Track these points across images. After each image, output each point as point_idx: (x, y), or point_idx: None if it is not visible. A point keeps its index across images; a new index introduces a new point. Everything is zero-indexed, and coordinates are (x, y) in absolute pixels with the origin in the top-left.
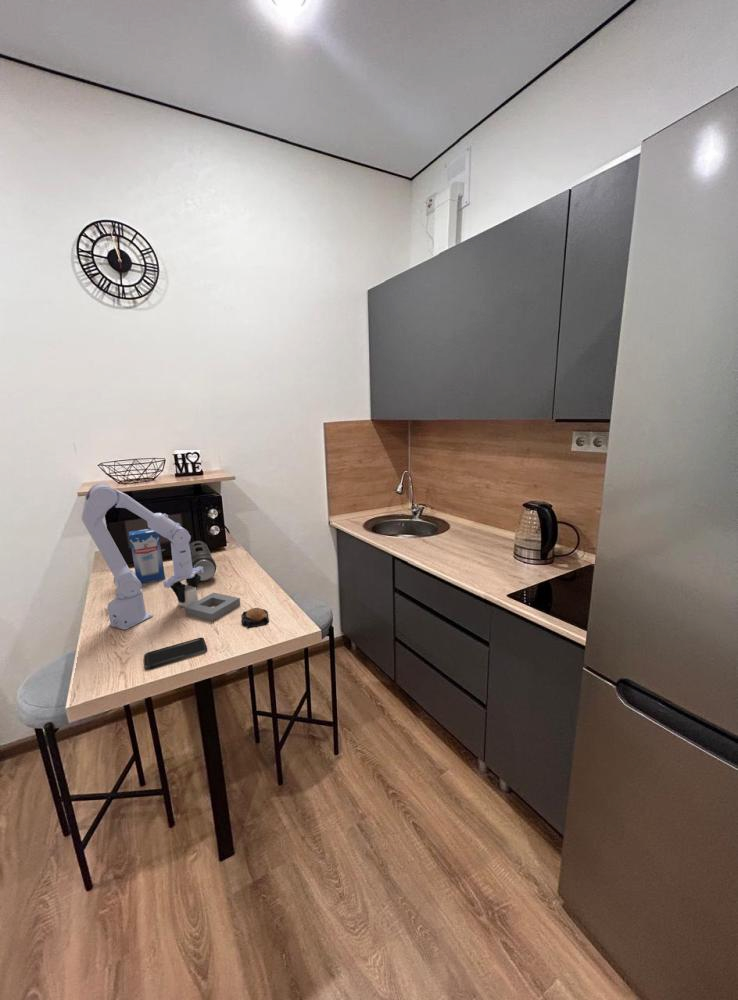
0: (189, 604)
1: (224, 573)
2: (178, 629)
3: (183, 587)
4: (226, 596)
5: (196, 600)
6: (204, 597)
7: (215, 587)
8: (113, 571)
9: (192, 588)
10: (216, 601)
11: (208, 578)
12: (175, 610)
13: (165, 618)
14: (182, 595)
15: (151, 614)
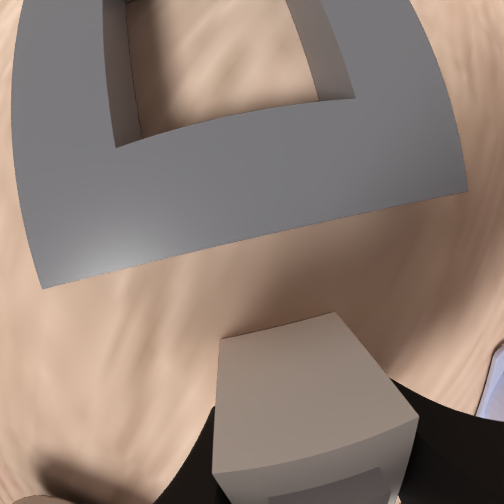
0: (327, 326)
1: (4, 472)
2: (494, 60)
3: (497, 464)
4: (30, 54)
5: (236, 349)
6: (181, 244)
7: (37, 426)
8: None
9: (274, 479)
10: (122, 91)
11: (56, 500)
12: (413, 338)
13: (494, 267)
14: (426, 404)
15: (495, 364)
